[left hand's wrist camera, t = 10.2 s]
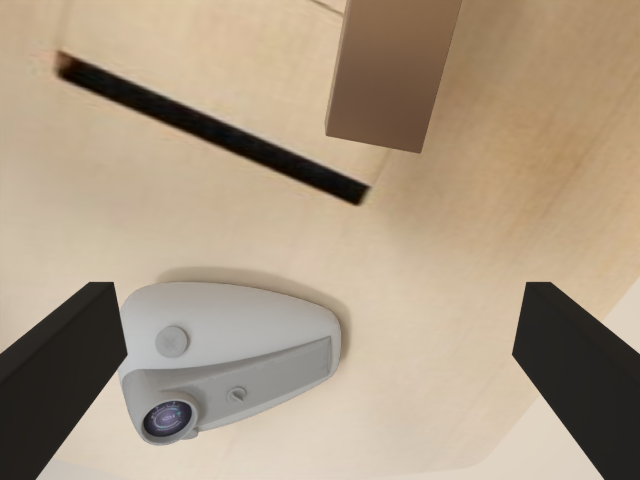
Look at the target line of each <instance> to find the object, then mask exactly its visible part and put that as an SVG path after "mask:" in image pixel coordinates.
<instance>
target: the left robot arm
mask: <svg viewBox="0 0 640 480" xmlns="http://www.w3.org/2000/svg"><path fill="white" fill-rule="evenodd" d="M127 356H128V352H127V347H126V342H125V337H124V332H123V327H122V322H121V317H120V312H119V307H118V302H117V297H116V292H115V287H114V282H89V283H88V284H86V285H85V286H84V287H83V288H81V289H80V290H79V291H78V292H76V293H75V294H74V295H73V296H71V297H70V298H69V299H68V300H67V301H65V302H64V303H63V304H62V305H60V306H59V307H58V308H57V309H55V310H54V311H53V312H52V313H50V314H49V315H48V316H47V317H46V318H44V319H43V320H42V321H41V322H39V323H38V324H37V325H36V326H34V327H33V328H32V329H31V330H29V331H28V332H27V333H26V334H25V335H23V336H22V337H21V338H20V339H18V340H17V341H16V342H15V343H13V344H12V345H11V346H10V347H8V348H7V349H6V350H5V351H3V352H2V353H1V354H0V480H36V478H37V477H38V476H39V474H40V473H41V472H42V470H43V469H44V468H45V466H46V465H47V464H48V462H49V461H50V459H51V458H52V457H53V455H54V454H55V453H56V451H57V450H58V449H59V447H60V446H61V445H62V443H63V442H64V441H65V439H66V438H67V437H68V435H69V434H70V432H71V431H72V430H73V428H74V427H75V426H76V424H77V423H78V422H79V420H80V419H81V418H82V416H83V415H84V414H85V412H86V411H87V410H88V408H89V407H90V405H91V404H92V403H93V401H94V400H95V399H96V397H97V396H98V395H99V393H100V392H101V391H102V389H103V388H104V387H105V385H106V384H107V383H108V381H109V380H110V378H111V377H112V376H113V374H114V373H115V372H116V370H117V369H118V368H119V366H120V365H121V364H122V362H123V361H124V360H125V358H126V357H127ZM512 356H513V357H514V358H515V360H516V361H517V362H518V364H519V365H520V366H521V368H522V369H523V370H524V372H525V373H526V374H527V376H528V377H529V378H530V380H531V381H532V383H533V384H534V385H535V387H536V388H537V389H538V391H539V392H540V393H541V395H542V396H543V397H544V399H545V400H546V401H547V403H548V404H549V405H550V407H551V408H552V410H553V411H554V412H555V414H556V415H557V416H558V418H559V419H560V420H561V422H562V423H563V424H564V426H565V427H566V428H567V430H568V431H569V432H570V434H571V435H572V437H573V438H574V439H575V441H576V442H577V443H578V445H579V446H580V447H581V449H582V450H583V451H584V453H585V454H586V455H587V457H588V458H589V459H590V461H591V462H592V464H593V465H594V466H595V468H596V469H597V470H598V472H599V473H600V474H601V476H602V477H603V478H604V480H640V354H639V353H638V352H637V351H635V350H634V349H633V348H632V347H630V346H629V345H628V344H627V343H625V342H624V341H623V340H622V339H620V338H619V337H618V336H617V335H615V334H614V333H613V332H612V331H611V330H609V329H608V328H607V327H605V326H604V325H603V324H602V323H601V322H599V321H598V320H597V319H596V318H594V317H593V316H592V315H591V314H590V313H588V312H587V311H586V310H585V309H583V308H582V307H581V306H580V305H578V304H577V303H576V302H575V301H573V300H572V299H571V298H570V297H568V296H567V295H566V294H565V293H564V292H562V291H561V290H560V289H559V288H557V287H556V286H555V285H554V284H552V283H551V282H526V287H525V292H524V297H523V302H522V307H521V312H520V317H519V322H518V327H517V332H516V337H515V342H514V347H513V352H512Z"/></svg>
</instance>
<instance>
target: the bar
mask: <svg viewBox="0 0 640 480" xmlns="http://www.w3.org/2000/svg"><path fill="white" fill-rule="evenodd" d="M461 2H462V0H347V2H346V7H345V13H344V19H343V24H342V30H341V35H340V41H339V46H338V52H337V57H336V63H335V68H334V74H333V79H332V85H331V90H330V96H329V101H328V107H327V112H326V118H325V132H326V136H330V137H335V138H340V139H345V140H351V141H356V142H361V143H366V144H372V145H377V146H382V147H387V148H393V149H398V150H403V151H408V152H414V153H421V150H422V147H423V143H424V139H425V135H426V132H427V128H428V124H429V121H430V117H431V113H432V110H433V106H434V102H435V98H436V95H437V91H438V87H439V84H440V80H441V76H442V73H443V69H444V65H445V61H446V58H447V54H448V50H449V47H450V43H451V39H452V36H453V32H454V28H455V24H456V21H457V17H458V13H459V10H460V6H461Z"/></svg>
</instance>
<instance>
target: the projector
mask: <svg viewBox="0 0 640 480" xmlns="http://www.w3.org/2000/svg"><path fill="white" fill-rule="evenodd" d="M120 317H121V322H122V327H123V332H124V337H125V342H126V347H127V352H128V356H127V357H126V358H125V360H124V361H123V362H122V364H121V365H120V366H119V368H118V369H117V370H118V375H119V380H120V385H121V389H122V392H123V395H124V398H125V402H126V405H127V409H128V412H129V415H130V418H131V420H132V422H133V425H134V427H135V429H136V430H137V432H138V433H139V435H140V437H141V438H142V439H143V440H144V441H145V442H147V443H149V444H152V445H168V444H172V443H175V442H177V441H179V440H186V439H192V438H195V437H197V435H198V432H201V431H206V430H211V429H214V428H218V427H221V426H225V425H228V424H231V423H234V422H237V421H240V420H243V419H246V418H248V417H251V416H253V415H256V414H258V413H261V412H263V411H266V410H268V409H270V408H273V407H275V406H277V405H279V404H281V403H284V402H286V401H288V400H290V399H292V398H294V397H296V396H298V395H300V394H302V393H304V392H306V391H308V390H310V389H312V388H313V387H315V386H317V385H319V384H321V383H322V382H324V381H326V380H327V379H329V378H330V377H331V376H332V375H333V374H334V373H335V372H336V370H337V367H338V364H339V360H340V353H341V329H340V325H339V322H338V320H337V318H336V316H335V315H334V314H333V313H332V312H331V311H330V310H328V309H326V308H324V307H322V306H319V305H317V304H314V303H311V302H308V301H305V300H302V299H299V298H295V297H292V296H288V295H285V294H281V293H277V292H272V291H268V290H263V289H258V288H252V287H245V286H238V285H230V284H220V283H206V282H166V283H158V284H152V285H148V286H145V287H142V288H140V289H138V290H136V291H135V292H133V293H132V294H131V295H130V296H129V297H128V298H127V299H126V301H125V303H124V304H123V306H122V308H121V310H120Z"/></svg>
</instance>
